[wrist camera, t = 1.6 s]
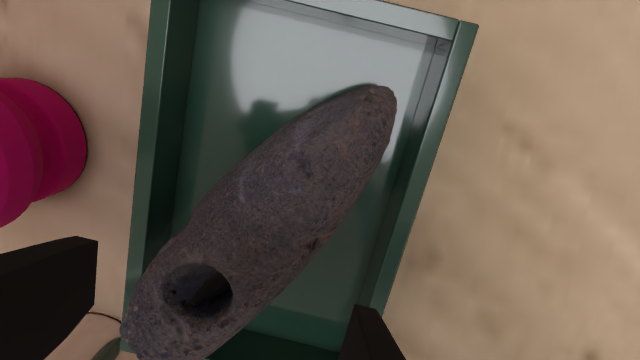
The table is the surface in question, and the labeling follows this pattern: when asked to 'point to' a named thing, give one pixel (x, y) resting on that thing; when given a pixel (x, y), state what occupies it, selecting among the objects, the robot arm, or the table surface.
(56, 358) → the beer glass
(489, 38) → the table surface
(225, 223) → the perforated stone tool
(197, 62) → the dish
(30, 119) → the pepper mill
